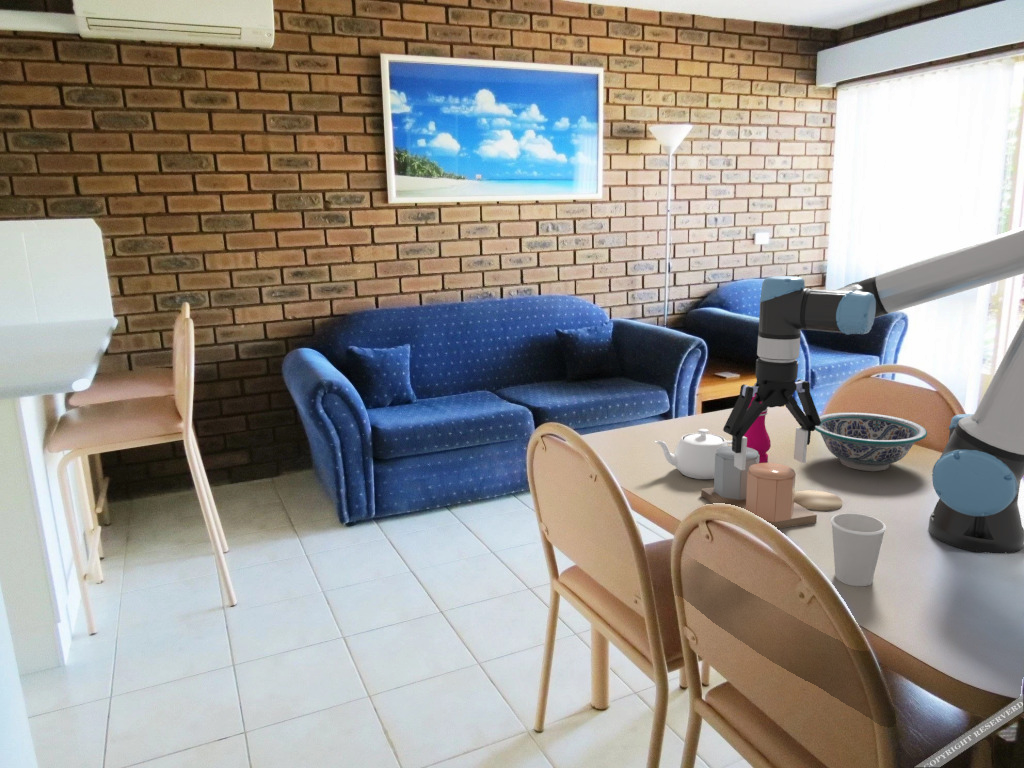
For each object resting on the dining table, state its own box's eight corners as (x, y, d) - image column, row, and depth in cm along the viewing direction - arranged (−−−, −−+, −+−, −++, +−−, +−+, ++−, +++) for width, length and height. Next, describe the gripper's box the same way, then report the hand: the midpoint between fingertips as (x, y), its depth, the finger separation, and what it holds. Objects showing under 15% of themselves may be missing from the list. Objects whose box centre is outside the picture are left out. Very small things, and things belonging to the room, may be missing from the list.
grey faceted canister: (764, 496, 155) (766, 455, 153) (729, 501, 153) (730, 460, 151) (741, 482, 163) (743, 444, 161) (707, 487, 161) (709, 448, 159)
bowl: (837, 484, 165) (840, 443, 163) (792, 449, 189) (794, 414, 187) (946, 480, 165) (951, 439, 163) (887, 446, 190) (890, 410, 188)
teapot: (733, 461, 182) (735, 419, 179) (755, 480, 169) (757, 435, 166) (646, 466, 180) (646, 424, 178) (661, 486, 167) (662, 440, 165)
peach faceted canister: (801, 517, 144) (804, 474, 142) (763, 523, 141) (765, 479, 139) (774, 502, 152) (777, 460, 150) (738, 507, 149) (740, 465, 147)
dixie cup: (848, 562, 129) (852, 508, 126) (892, 582, 121) (897, 525, 119) (815, 574, 125) (819, 519, 123) (858, 595, 118) (863, 537, 115)
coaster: (852, 507, 152) (853, 504, 152) (811, 513, 149) (811, 510, 149) (820, 490, 161) (820, 487, 161) (781, 496, 159) (781, 493, 159)
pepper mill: (765, 456, 185) (769, 378, 180) (773, 465, 178) (777, 385, 173) (736, 456, 185) (739, 378, 181) (742, 465, 178) (745, 385, 174)
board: (816, 522, 145) (816, 514, 145) (754, 532, 142) (754, 524, 141) (757, 487, 164) (757, 481, 164) (700, 495, 160) (701, 489, 160)
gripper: (820, 350, 146) (811, 451, 151) (708, 359, 140) (703, 464, 145) (846, 357, 139) (836, 463, 144) (730, 367, 133) (724, 477, 138)
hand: (769, 464), depth 144 cm, fingers open, 13 cm apart
